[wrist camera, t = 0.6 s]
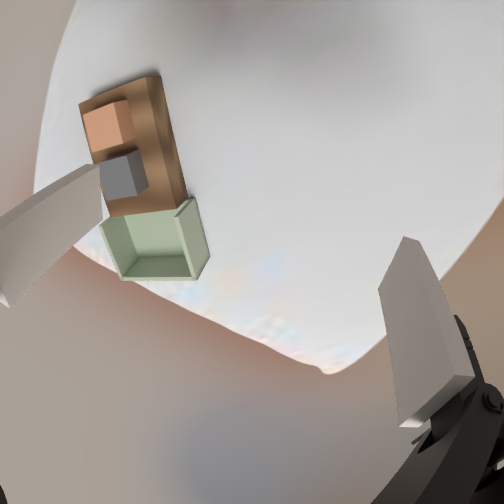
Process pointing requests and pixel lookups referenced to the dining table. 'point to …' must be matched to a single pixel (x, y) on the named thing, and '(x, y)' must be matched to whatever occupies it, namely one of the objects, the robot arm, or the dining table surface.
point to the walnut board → (144, 147)
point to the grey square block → (123, 175)
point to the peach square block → (109, 125)
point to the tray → (158, 244)
